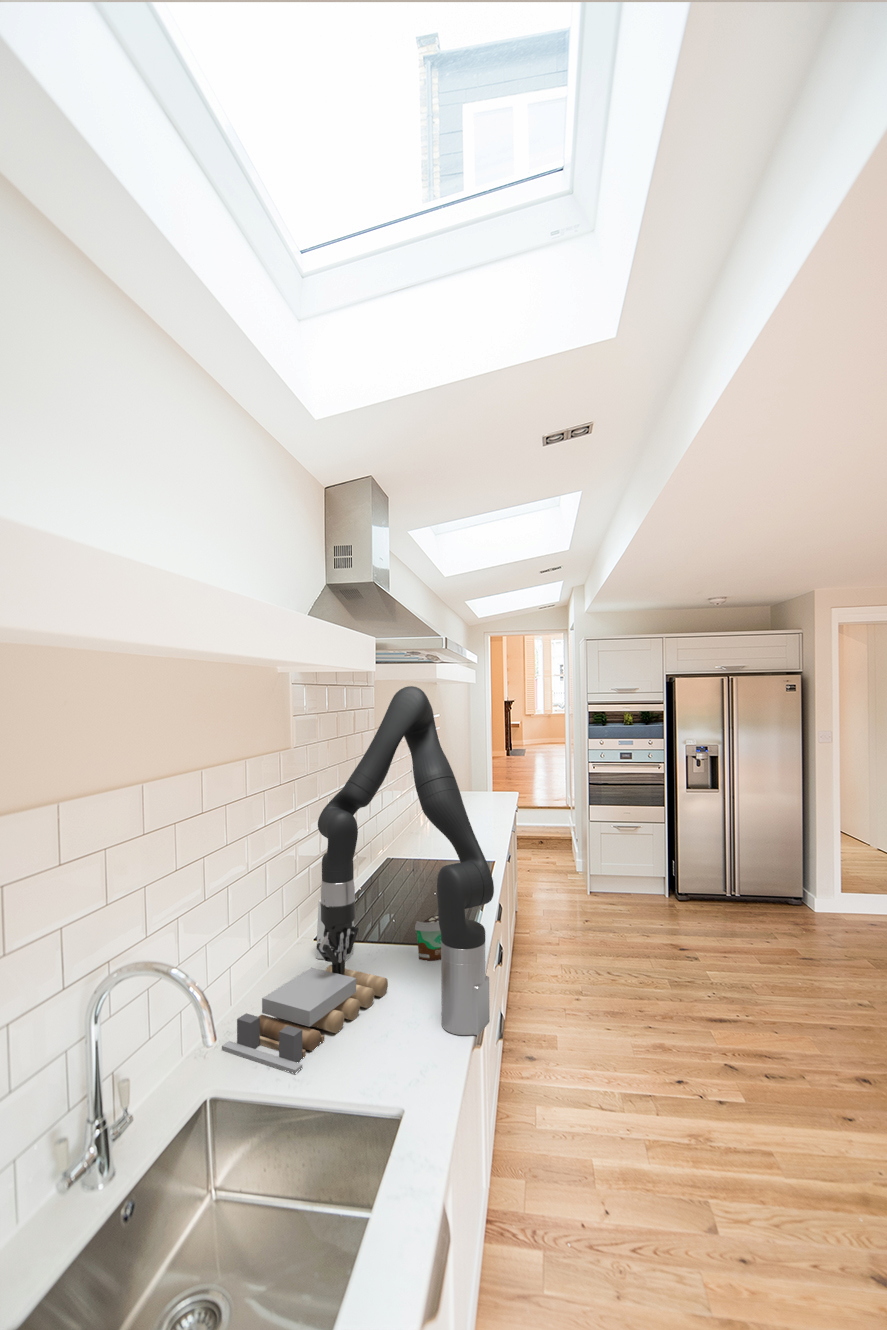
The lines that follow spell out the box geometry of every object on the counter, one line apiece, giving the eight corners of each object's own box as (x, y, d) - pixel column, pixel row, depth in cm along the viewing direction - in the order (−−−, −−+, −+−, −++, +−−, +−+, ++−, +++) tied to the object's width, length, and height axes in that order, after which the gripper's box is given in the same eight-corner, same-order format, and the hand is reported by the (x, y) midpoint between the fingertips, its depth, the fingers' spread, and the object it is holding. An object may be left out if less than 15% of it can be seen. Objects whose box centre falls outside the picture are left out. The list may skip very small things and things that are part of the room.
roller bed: (387, 992, 153) (387, 974, 153) (305, 1059, 126) (305, 1037, 126) (334, 979, 160) (334, 962, 160) (245, 1040, 133) (245, 1019, 133)
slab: (356, 992, 144) (356, 978, 144) (309, 1026, 130) (309, 1011, 130) (311, 980, 150) (311, 967, 150) (262, 1013, 135) (262, 998, 135)
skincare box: (315, 959, 171) (315, 900, 171) (326, 950, 177) (326, 893, 177) (346, 963, 169) (345, 903, 169) (355, 953, 175) (355, 896, 175)
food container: (434, 967, 166) (434, 927, 166) (415, 961, 170) (414, 921, 170) (463, 951, 176) (462, 912, 176) (444, 945, 179) (444, 908, 180)
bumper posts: (310, 1061, 125) (310, 1032, 125) (295, 1074, 121) (295, 1044, 121) (238, 1038, 133) (238, 1010, 134) (221, 1050, 129) (221, 1021, 130)
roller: (252, 1036, 134) (254, 1017, 135) (264, 1031, 137) (266, 1012, 138) (308, 1054, 128) (310, 1033, 128) (319, 1048, 131) (321, 1028, 132)
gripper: (341, 888, 156) (342, 962, 156) (305, 905, 144) (305, 986, 144) (368, 892, 153) (369, 969, 152) (333, 911, 141) (334, 993, 141)
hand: (338, 977), depth 148 cm, fingers closed
